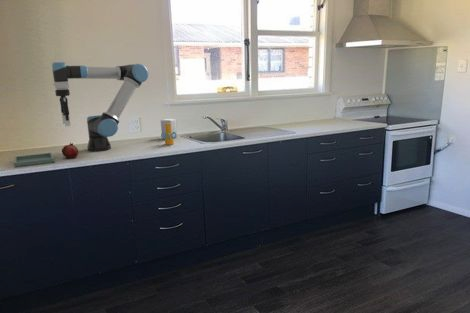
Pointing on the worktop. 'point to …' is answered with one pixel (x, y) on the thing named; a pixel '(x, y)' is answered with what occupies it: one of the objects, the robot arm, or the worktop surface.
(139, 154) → the worktop surface
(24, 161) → the tray
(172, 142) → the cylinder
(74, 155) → the fruit
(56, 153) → the worktop surface
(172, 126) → the supplement box
